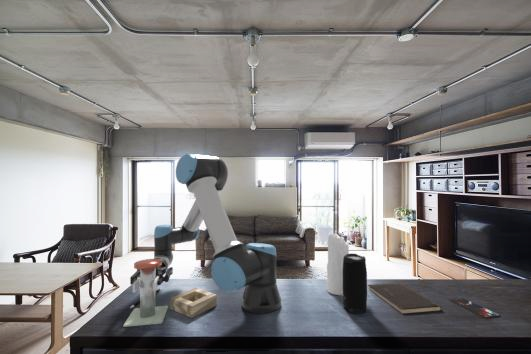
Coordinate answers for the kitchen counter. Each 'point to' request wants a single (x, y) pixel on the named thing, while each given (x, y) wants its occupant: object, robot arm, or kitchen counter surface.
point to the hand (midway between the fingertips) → (143, 287)
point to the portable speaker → (354, 283)
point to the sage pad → (155, 319)
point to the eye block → (193, 302)
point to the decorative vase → (335, 263)
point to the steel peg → (147, 285)
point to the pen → (139, 301)
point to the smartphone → (474, 308)
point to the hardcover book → (403, 298)
